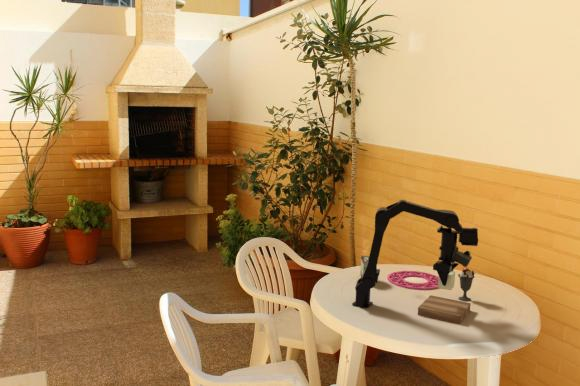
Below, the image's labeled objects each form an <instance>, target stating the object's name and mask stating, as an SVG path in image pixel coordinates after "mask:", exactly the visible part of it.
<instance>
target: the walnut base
mask: <svg viewBox="0 0 580 386" xmlns="http://www.w3.org/2000/svg"><path fill="white" fill-rule="evenodd" d="M471 304H472V303H470V302H468V301H462V300H457V299H456V300H455V299H451V298H446V297H442V296H441V297H440V296H436V295H431V294H430V295H429V296H428V297H427V298H426V299H425V300H424V301H422V303H421V304H420V305H419V306H418V307H417V315H419V316H423V317H428V318H432V319H437V320H440V321H444V322H445V321H446V322H450V323H453V324H454V323H455V324H458V325H460V324H461V323H462V322H463V320H464V319H466V317H467V315H468V314H469V312H471Z"/></svg>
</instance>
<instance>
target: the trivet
mask: <svg viewBox="0 0 580 386" xmlns="http://www.w3.org/2000/svg"><path fill="white" fill-rule="evenodd" d="M420 273H421V274H422V275H421V274H420ZM393 274H395V275H393ZM396 274H397V275H396ZM401 274H402V275H401ZM424 274H426V275H424ZM438 276H439V275H435V274H433V273H428V272H424V271H417V270H399V271H393V272H391V273H389V274H388V275H387V278H386V279H387V282H389V283H390V284H391V285H394V286H396V287H400V288H404V289H408V290H418V291H429V290H436V289H439V288H438ZM410 277H416V278H420V279H424V280H427V281H426V282H422V283H421V282H418V283H417V282H416V283H415V282H411V281H410V282H409V281H408V280H404V278H410Z"/></svg>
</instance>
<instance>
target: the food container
mask: <svg viewBox="0 0 580 386" xmlns="http://www.w3.org/2000/svg"><path fill="white" fill-rule="evenodd" d="M369 256H370V255H361V254H360V275H359V277H360V276H361V277H362V275H363V272H364V270H365V268H366V266H367V263H368V260H369ZM361 277H360V278H361Z"/></svg>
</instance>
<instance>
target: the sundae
mask: <svg viewBox="0 0 580 386" xmlns="http://www.w3.org/2000/svg"><path fill="white" fill-rule="evenodd" d="M457 276H458V278H459V285H460V289H461V290H462V291H463V295H462V296H459V297H458V299H459V301H462V302H470V301H471V298H470V297H468V296H467V292H469V290H470V289H471V288H472V285H473V280H474V279H475V278H476V276H475V271H474V270H470V269H469V268H467V267H465V268H463V269H462V270H461V272H460V273H458V274H457Z"/></svg>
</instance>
